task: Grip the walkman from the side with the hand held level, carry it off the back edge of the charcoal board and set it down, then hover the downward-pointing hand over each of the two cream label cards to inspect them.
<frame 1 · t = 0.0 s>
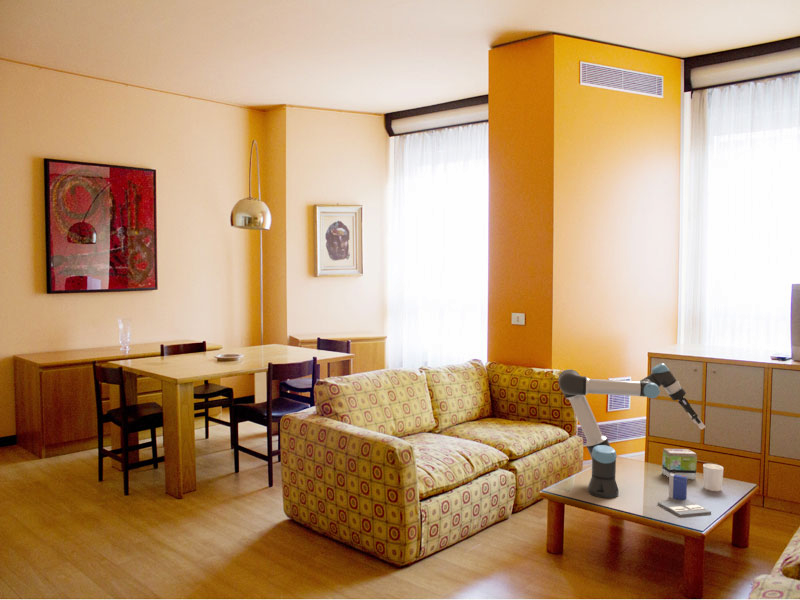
hand: (700, 425, 313), 36 cm above the table, tool tilted 35°, fingers open, 13 cm apart
tea box: (678, 476, 342), on the table
label board: (683, 509, 293), on the table
walkman: (677, 499, 307), on the table
candle holder: (712, 489, 323), on the table
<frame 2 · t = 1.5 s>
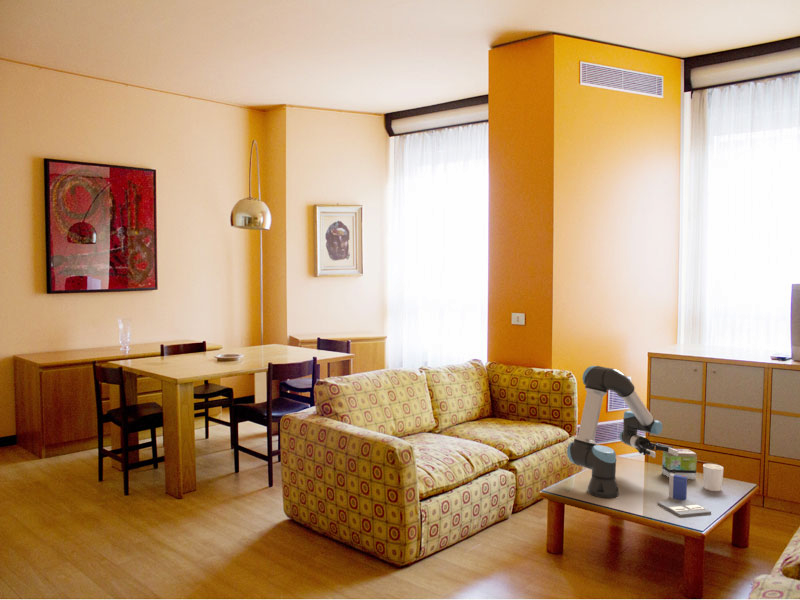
hand: (666, 454, 316), 20 cm above the table, tool horizontal, fingers open, 13 cm apart
nothing on the table moved.
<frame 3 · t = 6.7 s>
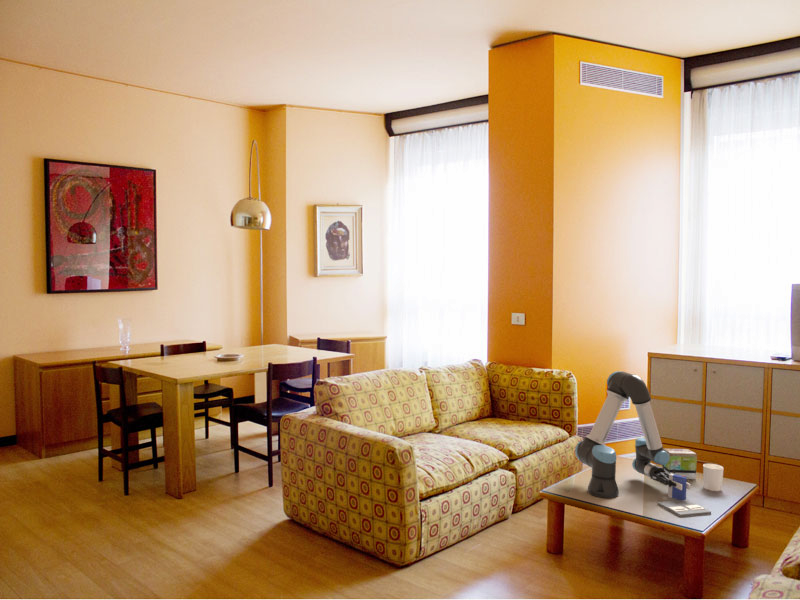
hand: (685, 487, 302), 8 cm above the table, tool horizontal, fingers open, 4 cm apart
walkman: (676, 498, 307), on the table, touching gripper
everything else where it was.
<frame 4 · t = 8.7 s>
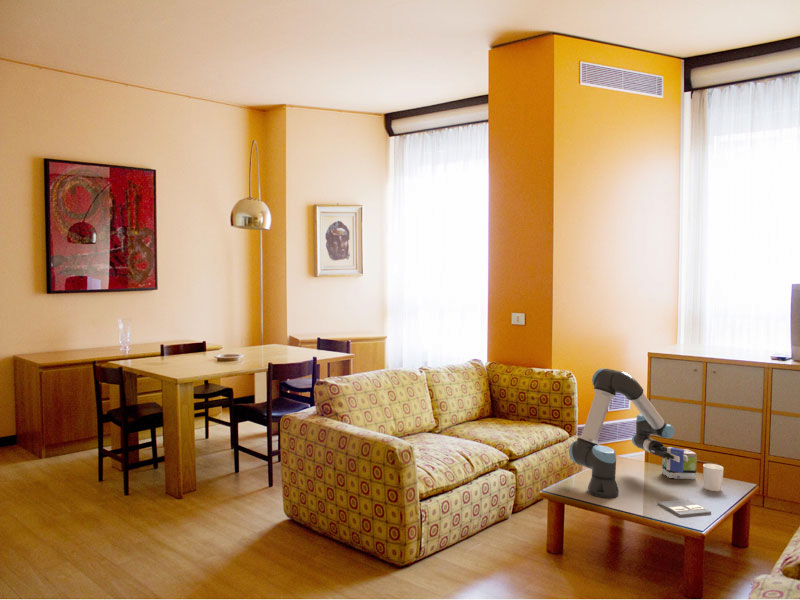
hand: (682, 459, 313), 18 cm above the table, tool horizontal
walkman: (674, 471, 319), point 10 cm above the table, touching gripper
everything else where it was.
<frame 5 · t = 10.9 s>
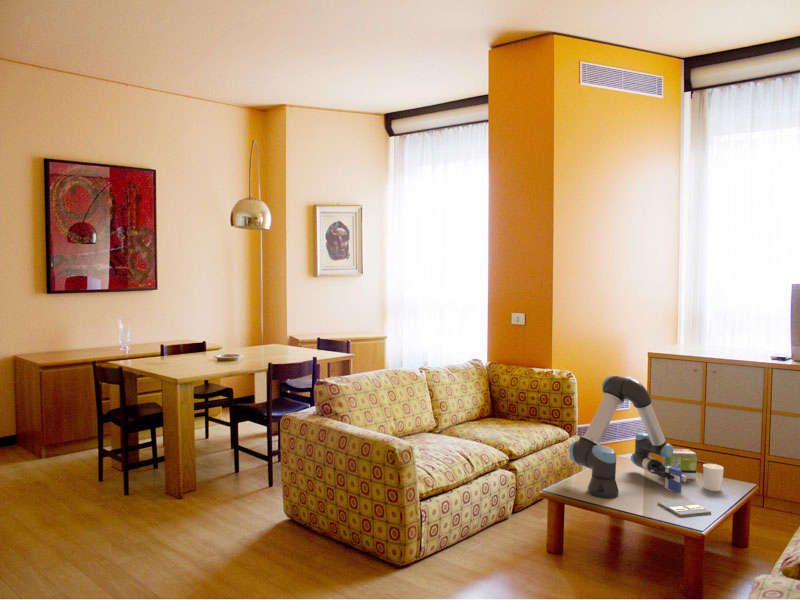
hand: (682, 479, 314), 8 cm above the table, tool horizontal, fingers open, 3 cm apart
walkman: (672, 490, 320), on the table
everything else where it was.
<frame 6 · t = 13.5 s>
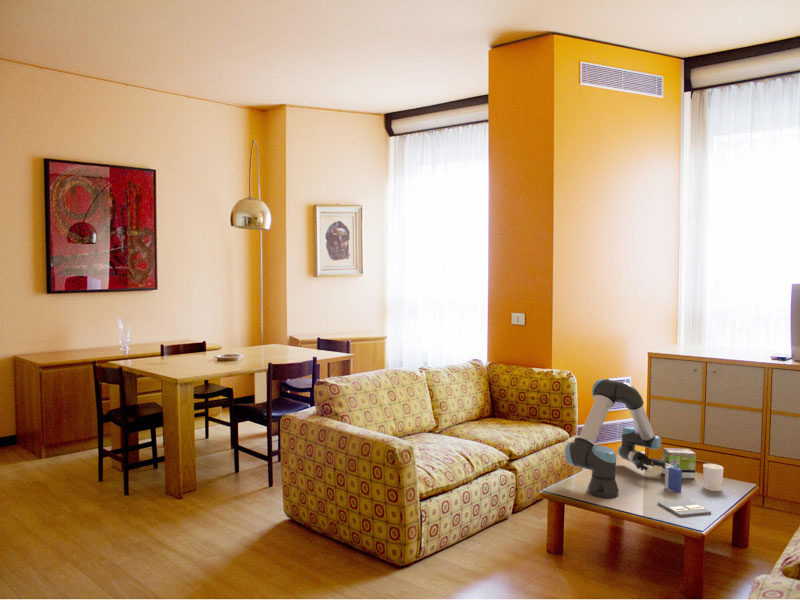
hand: (662, 469, 329), 8 cm above the table, tool horizontal, fingers open, 13 cm apart
tea box: (678, 476, 343), on the table, touching gripper
everything else where it was.
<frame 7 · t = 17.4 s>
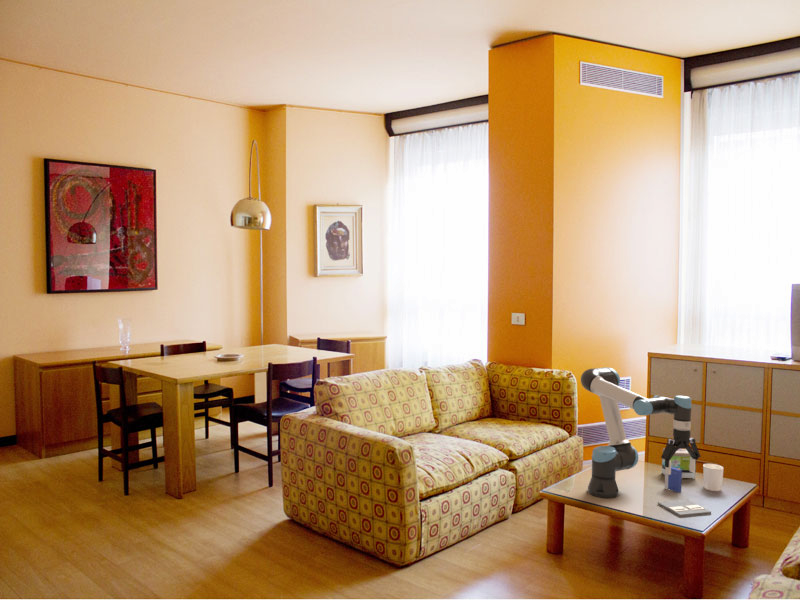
hand: (680, 472, 289), 19 cm above the table, tool pointing down, fingers open, 13 cm apart
tea box: (678, 476, 343), on the table
everything else where it was.
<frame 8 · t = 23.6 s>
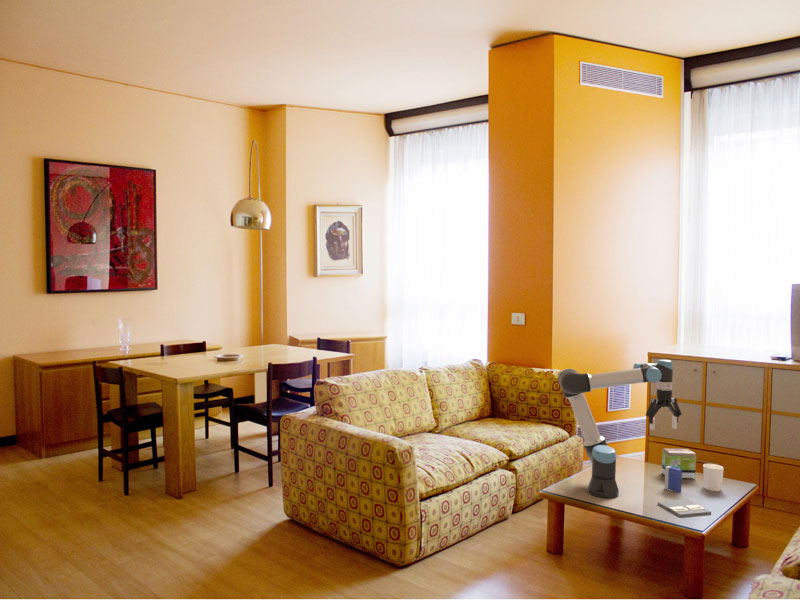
hand: (663, 429, 321), 32 cm above the table, tool pointing down, fingers open, 13 cm apart
nothing on the table moved.
at the end: walkman inside the target area (0.8 cm from its centre), on the table; walkman tilted 0°; the gripper is holding nothing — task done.
